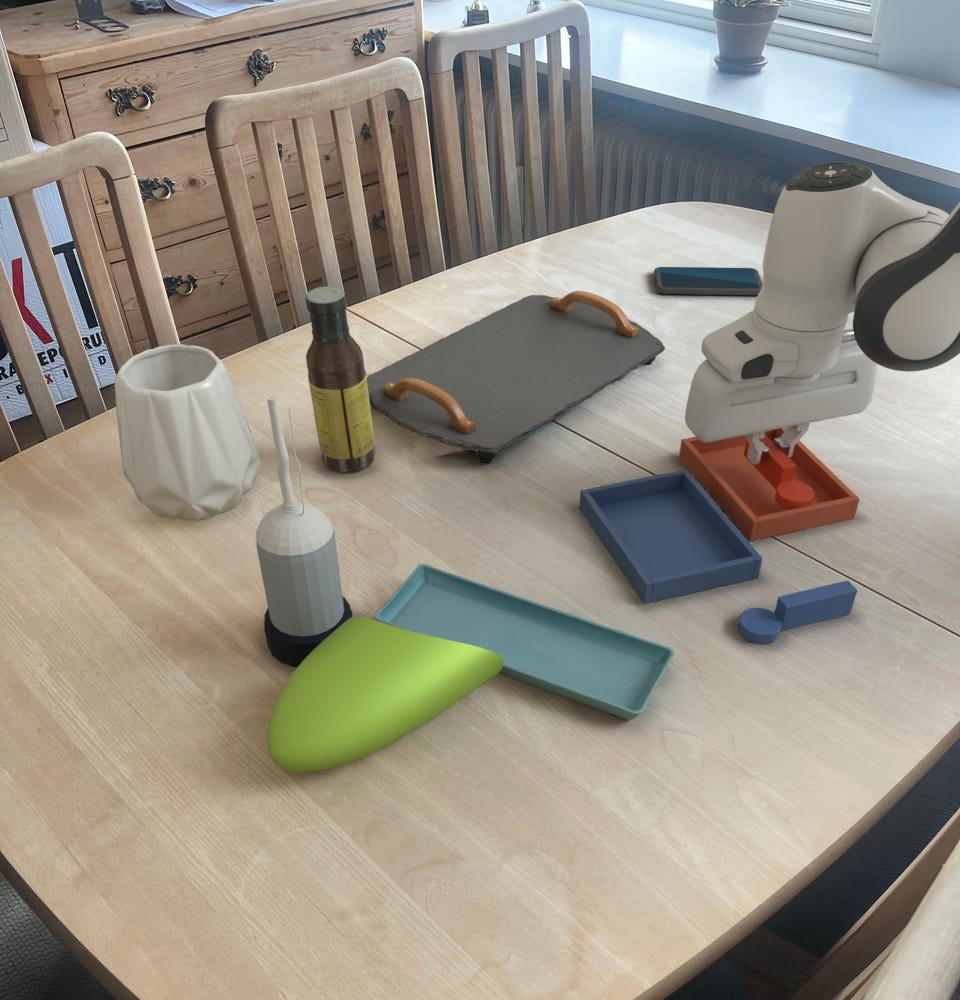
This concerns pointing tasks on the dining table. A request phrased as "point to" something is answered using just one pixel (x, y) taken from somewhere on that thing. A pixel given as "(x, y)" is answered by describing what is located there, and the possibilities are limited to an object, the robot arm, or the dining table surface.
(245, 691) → the dining table surface
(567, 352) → the serving tray
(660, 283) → the smartphone
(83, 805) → the dining table surface
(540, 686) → the shallow long dish
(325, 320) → the sauce bottle
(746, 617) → the spoon blue
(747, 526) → the tray red
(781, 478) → the red bar with disc
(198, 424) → the vase
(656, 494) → the tray blue
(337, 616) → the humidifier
